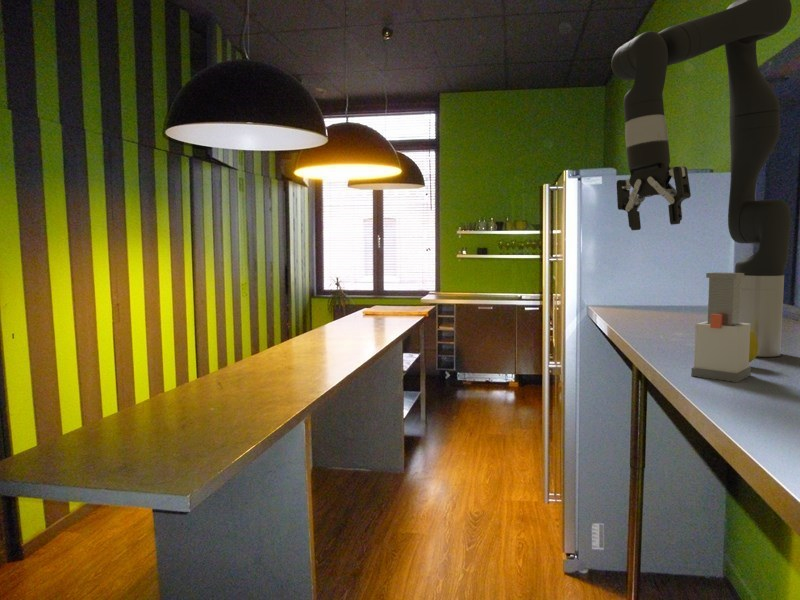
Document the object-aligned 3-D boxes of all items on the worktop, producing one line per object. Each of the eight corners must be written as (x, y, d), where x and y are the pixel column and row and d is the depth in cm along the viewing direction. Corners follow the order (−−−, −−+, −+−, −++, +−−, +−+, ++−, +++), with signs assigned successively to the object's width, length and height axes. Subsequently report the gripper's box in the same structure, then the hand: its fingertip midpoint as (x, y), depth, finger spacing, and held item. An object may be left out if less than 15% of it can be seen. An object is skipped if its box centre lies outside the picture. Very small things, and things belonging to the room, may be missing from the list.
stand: (706, 369, 114) (708, 309, 113) (750, 375, 109) (753, 312, 108) (690, 376, 108) (693, 313, 107) (736, 382, 103) (739, 316, 102)
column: (711, 362, 112) (715, 272, 111) (740, 365, 109) (744, 273, 107) (702, 366, 109) (706, 273, 107) (731, 369, 105) (736, 273, 104)
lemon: (755, 370, 113) (757, 328, 113) (722, 367, 117) (724, 326, 116) (759, 366, 118) (761, 325, 117) (727, 362, 121) (729, 323, 120)
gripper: (693, 134, 111) (701, 221, 112) (627, 152, 124) (635, 230, 124) (668, 133, 108) (677, 223, 108) (603, 151, 120) (611, 232, 120)
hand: (655, 227), depth 116 cm, fingers open, 8 cm apart
